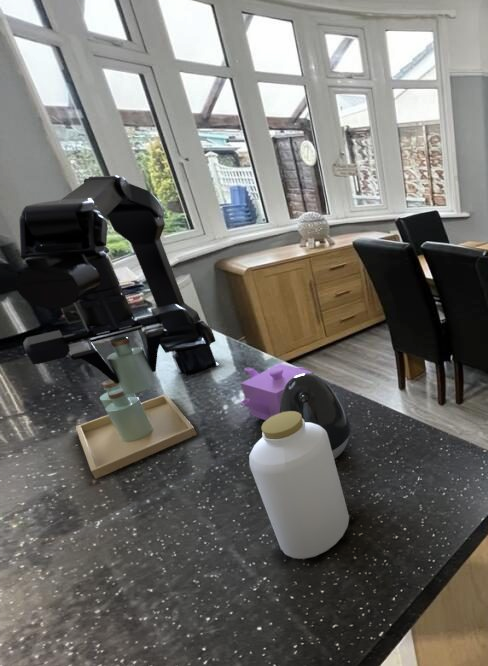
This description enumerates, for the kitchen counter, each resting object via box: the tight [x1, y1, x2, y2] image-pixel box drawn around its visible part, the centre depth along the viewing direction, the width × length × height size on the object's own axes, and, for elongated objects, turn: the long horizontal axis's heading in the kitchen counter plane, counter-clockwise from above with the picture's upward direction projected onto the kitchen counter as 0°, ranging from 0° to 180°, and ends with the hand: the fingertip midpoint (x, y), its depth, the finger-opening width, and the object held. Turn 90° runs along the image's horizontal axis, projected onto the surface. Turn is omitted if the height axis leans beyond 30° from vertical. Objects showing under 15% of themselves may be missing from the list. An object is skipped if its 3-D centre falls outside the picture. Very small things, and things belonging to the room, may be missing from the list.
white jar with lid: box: [248, 411, 350, 560], centre depth 48 cm, size 8×8×18 cm
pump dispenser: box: [279, 373, 352, 460], centre depth 62 cm, size 10×10×15 cm
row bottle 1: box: [99, 379, 137, 410], centre depth 72 cm, size 4×4×9 cm
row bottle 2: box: [104, 388, 153, 442], centre depth 69 cm, size 4×4×9 cm
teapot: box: [240, 363, 315, 421], centre depth 73 cm, size 18×13×10 cm
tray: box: [75, 393, 198, 479], centre depth 71 cm, size 13×18×2 cm
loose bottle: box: [106, 336, 158, 394], centre depth 65 cm, size 4×4×9 cm
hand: (136, 376), depth 66 cm, fingers closed on loose bottle, 4 cm apart
